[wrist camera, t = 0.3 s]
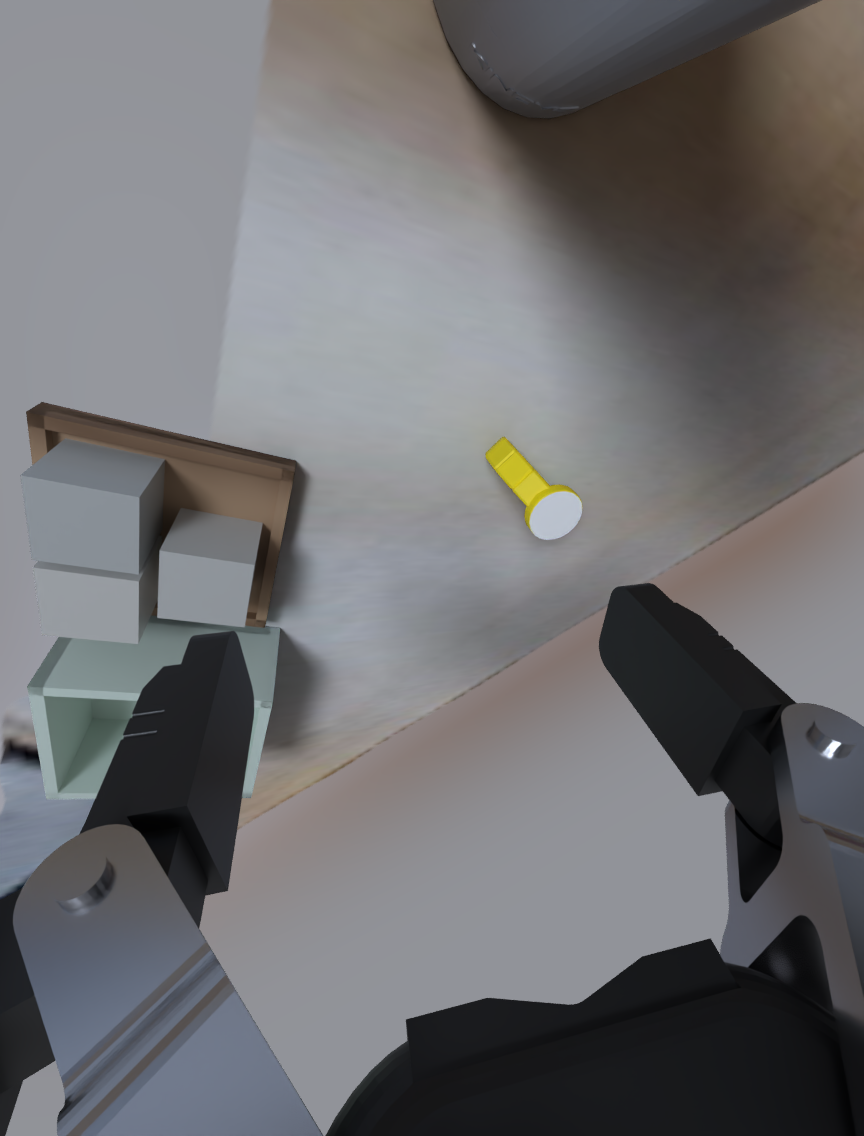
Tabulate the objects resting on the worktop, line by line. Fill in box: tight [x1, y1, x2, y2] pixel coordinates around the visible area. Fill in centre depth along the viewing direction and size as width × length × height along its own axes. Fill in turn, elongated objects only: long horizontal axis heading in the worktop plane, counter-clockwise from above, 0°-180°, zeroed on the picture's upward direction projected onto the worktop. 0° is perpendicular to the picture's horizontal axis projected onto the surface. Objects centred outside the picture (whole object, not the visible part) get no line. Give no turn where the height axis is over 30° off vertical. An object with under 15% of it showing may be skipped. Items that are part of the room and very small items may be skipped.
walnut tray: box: [26, 402, 296, 628], centre depth 25 cm, size 11×11×1 cm
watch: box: [486, 437, 582, 540], centre depth 25 cm, size 6×3×6 cm, turn 44°
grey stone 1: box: [20, 438, 165, 575], centre depth 21 cm, size 4×4×4 cm
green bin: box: [27, 615, 280, 799], centre depth 29 cm, size 10×11×6 cm
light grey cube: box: [33, 536, 162, 644], centre depth 23 cm, size 4×4×4 cm
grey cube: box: [157, 508, 263, 627], centre depth 24 cm, size 4×4×4 cm
